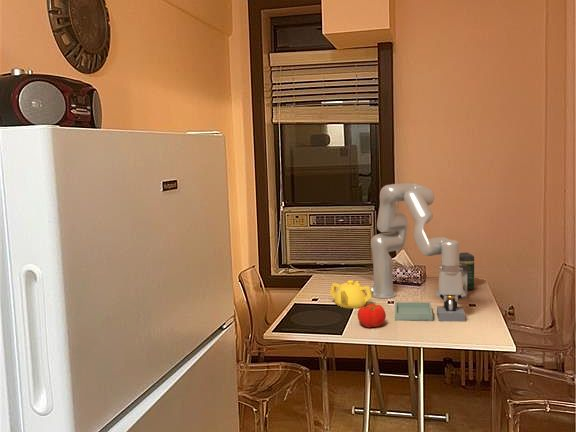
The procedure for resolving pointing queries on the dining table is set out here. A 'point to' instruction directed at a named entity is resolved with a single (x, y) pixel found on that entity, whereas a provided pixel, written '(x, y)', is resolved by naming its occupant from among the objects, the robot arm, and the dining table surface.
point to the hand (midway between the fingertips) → (450, 309)
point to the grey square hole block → (450, 314)
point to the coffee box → (464, 276)
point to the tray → (413, 311)
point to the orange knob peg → (450, 302)
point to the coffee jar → (468, 268)
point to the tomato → (371, 315)
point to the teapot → (350, 294)
